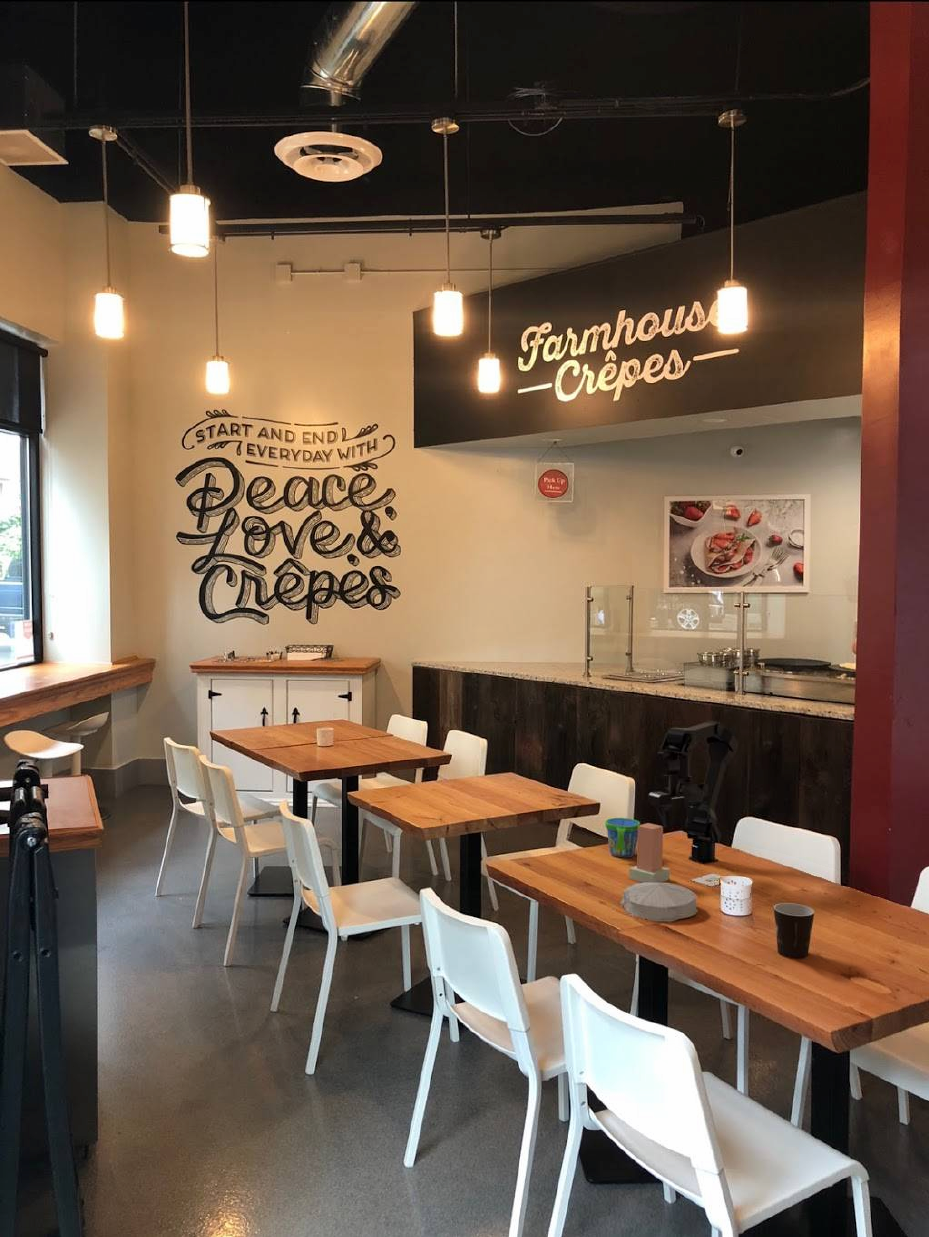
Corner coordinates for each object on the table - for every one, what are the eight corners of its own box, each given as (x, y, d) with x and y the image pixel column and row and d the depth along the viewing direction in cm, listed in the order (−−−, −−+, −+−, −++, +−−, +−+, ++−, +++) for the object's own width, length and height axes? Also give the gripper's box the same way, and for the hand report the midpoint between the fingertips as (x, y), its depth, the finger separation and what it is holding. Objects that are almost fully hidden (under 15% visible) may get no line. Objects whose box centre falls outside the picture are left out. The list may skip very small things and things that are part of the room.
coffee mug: (781, 943, 222) (782, 900, 222) (818, 952, 216) (819, 908, 216) (761, 957, 213) (762, 913, 213) (799, 968, 207) (801, 922, 207)
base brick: (645, 873, 275) (645, 862, 275) (669, 879, 269) (669, 868, 269) (629, 878, 270) (629, 868, 269) (653, 885, 264) (653, 874, 264)
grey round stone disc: (714, 919, 239) (715, 892, 239) (643, 926, 233) (644, 898, 233) (673, 895, 258) (674, 870, 258) (606, 900, 252) (606, 874, 252)
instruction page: (712, 874, 275) (712, 873, 275) (733, 880, 270) (733, 879, 270) (690, 880, 269) (690, 879, 269) (711, 886, 263) (711, 885, 263)
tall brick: (647, 864, 273) (648, 822, 273) (662, 868, 269) (663, 826, 269) (636, 868, 269) (637, 825, 269) (651, 872, 266) (652, 829, 265)
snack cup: (635, 863, 285) (635, 829, 284) (599, 859, 288) (600, 826, 288) (643, 850, 299) (644, 817, 299) (610, 846, 303) (610, 814, 303)
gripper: (673, 779, 266) (672, 835, 266) (723, 774, 275) (722, 828, 276) (647, 772, 276) (646, 826, 276) (695, 767, 285) (694, 819, 285)
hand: (678, 825), depth 278 cm, fingers open, 9 cm apart
